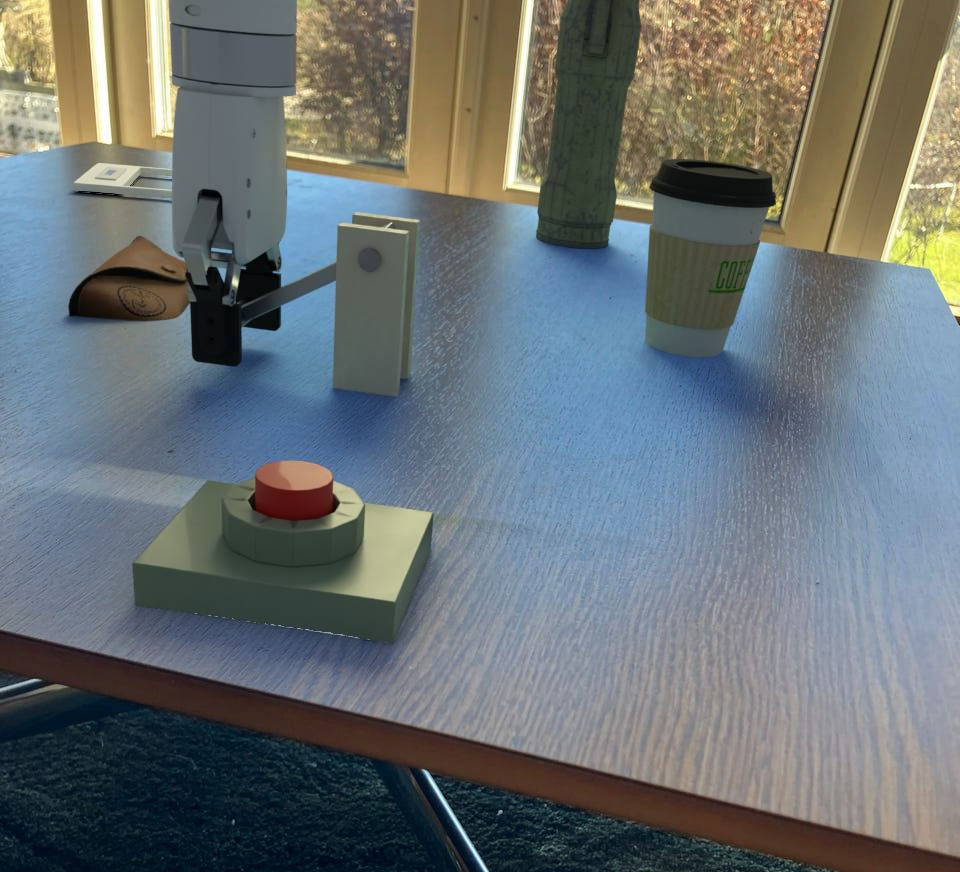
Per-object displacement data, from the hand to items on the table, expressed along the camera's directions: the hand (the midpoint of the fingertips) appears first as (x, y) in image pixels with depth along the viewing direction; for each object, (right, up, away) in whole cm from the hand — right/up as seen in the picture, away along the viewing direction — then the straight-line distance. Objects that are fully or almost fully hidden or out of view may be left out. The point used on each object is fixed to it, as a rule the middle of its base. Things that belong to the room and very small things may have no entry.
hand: (238, 343), depth 78 cm
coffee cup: (+33, +3, +17) cm, 37 cm away
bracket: (+9, -4, +1) cm, 10 cm away
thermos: (+28, +27, +56) cm, 68 cm away
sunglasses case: (-10, +7, +15) cm, 19 cm away
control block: (+7, -17, -23) cm, 29 cm away
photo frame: (-22, +34, +59) cm, 72 cm away
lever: (+6, +2, -2) cm, 7 cm away
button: (+8, -14, -24) cm, 29 cm away
